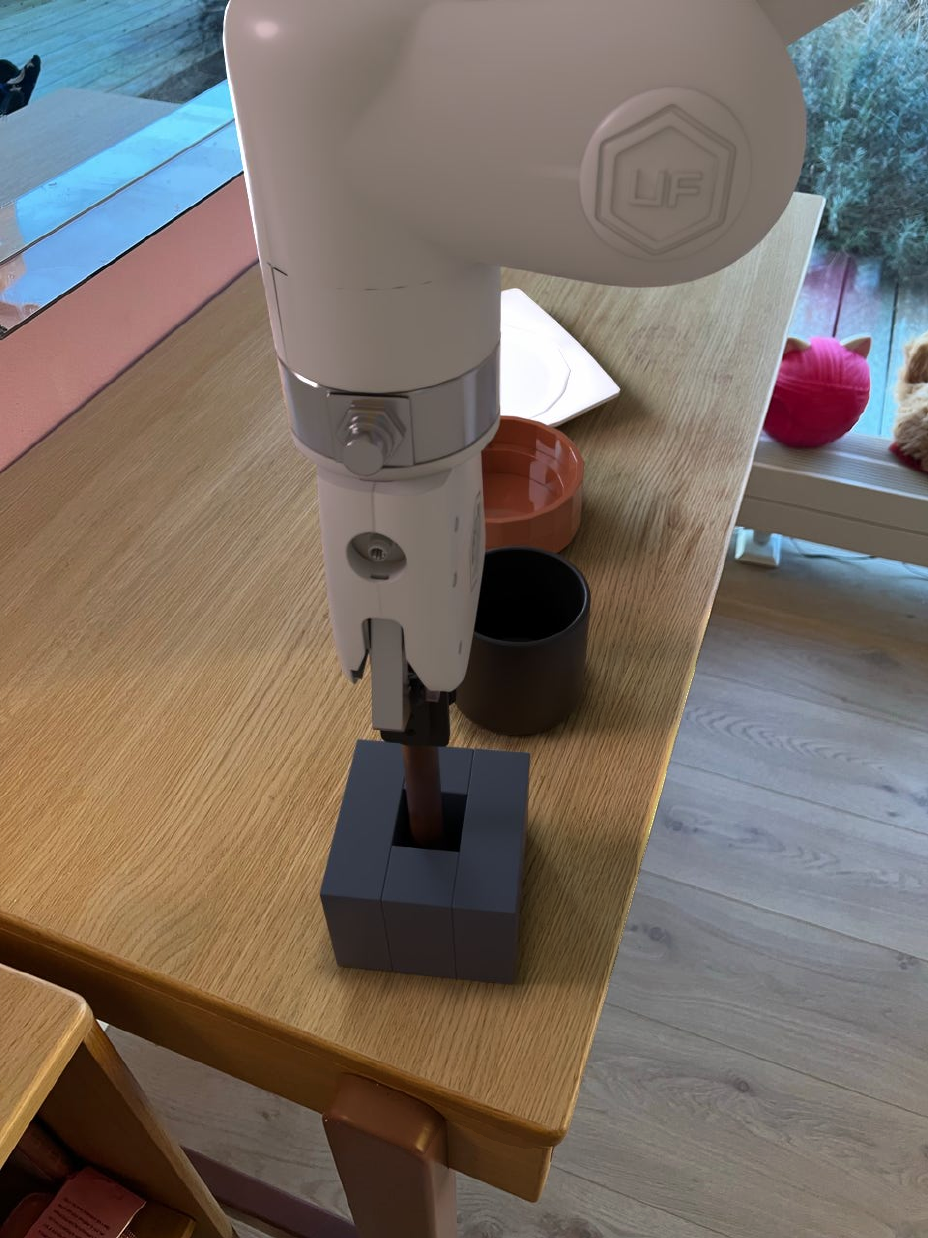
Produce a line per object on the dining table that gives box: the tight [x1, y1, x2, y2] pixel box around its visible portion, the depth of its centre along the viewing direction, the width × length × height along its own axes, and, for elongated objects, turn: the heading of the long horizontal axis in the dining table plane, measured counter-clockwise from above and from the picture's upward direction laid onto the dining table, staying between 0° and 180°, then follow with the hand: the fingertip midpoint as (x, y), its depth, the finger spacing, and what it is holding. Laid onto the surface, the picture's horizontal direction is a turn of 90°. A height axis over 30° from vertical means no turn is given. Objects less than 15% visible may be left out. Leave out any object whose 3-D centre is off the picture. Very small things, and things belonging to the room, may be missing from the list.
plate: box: [500, 287, 621, 429], centre depth 97 cm, size 24×24×3 cm
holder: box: [319, 738, 531, 985], centre depth 57 cm, size 10×10×8 cm
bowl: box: [481, 415, 585, 554], centre depth 82 cm, size 14×14×6 cm
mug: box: [454, 546, 592, 736], centre depth 68 cm, size 9×12×9 cm
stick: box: [401, 665, 445, 851], centre depth 50 cm, size 2×2×18 cm
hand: (420, 717), depth 48 cm, fingers closed on stick, 1 cm apart
